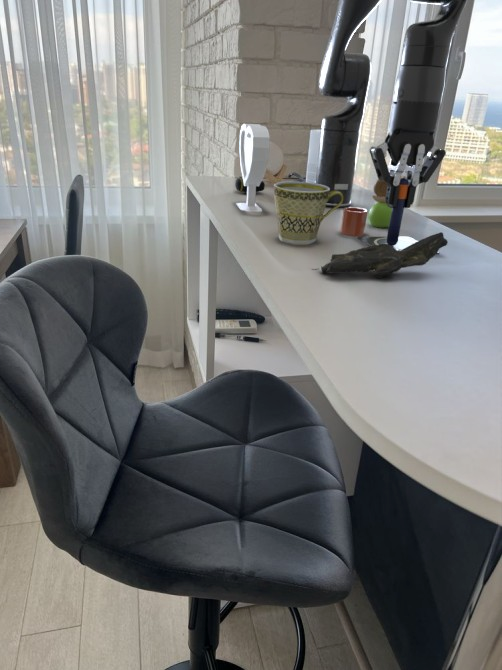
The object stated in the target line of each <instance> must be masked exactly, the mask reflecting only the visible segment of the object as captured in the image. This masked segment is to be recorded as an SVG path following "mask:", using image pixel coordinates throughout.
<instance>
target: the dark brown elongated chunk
mask: <svg viewBox="0 0 502 670" xmlns="http://www.w3.org/2000/svg"><path fill="white" fill-rule="evenodd" d="M444 236H445V235H444V232H442V231H440V232H436V233H433V234H432V235H429V236H426V237H425V238H422V239H419V240H417V241H418V242H416V243H414V244H412V245H410V246H408V247H406V248H404V249H403V250H401V251H397V250H395V249H394V248H393V247H392V246H391V245H389V244H380V245H375V246H365V247H361V248H357V249H353V250H350V251H348V252H347V253H339V254H337V253H335V254H332V255H331V258H330V261H329V262H327V263H325V264H324V265H323V266H320V270H321V272H322V274H329V273H333V274H343V273H355V272H356V273H360V272H361V273H368V272H373V273H372V274H373V275H374V277H377V278H379V279H380V278H383V277H385V276H388V275H391V274H394V273H397V272H398V271H400V270H401V269H403V268H408V267H420V266H421V267H422V266H424V265H427V263H428V262H429V261H430V260H431V259H432V258H434V257H435V256H436V255H437V254H436V253H437V252H439V250H440V249H441V248H444V247H446V246H447V245H448V243H449V242H448V239H446V238H445V237H444Z"/></svg>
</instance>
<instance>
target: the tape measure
mask: <svg viewBox="0 0 502 670" xmlns="http://www.w3.org/2000/svg"><path fill="white" fill-rule="evenodd" d="M234 186H235V189H236V190H237V191H239V192H241V193H243V194H246V195H247V186H244V183H243V177H242V176H238V177H236V179H235V184H234ZM265 186H266V184H265V182H264V181H263V180H262V181H261V183H260V185H259V186H256V193H259V192H263V191H264V190H265Z"/></svg>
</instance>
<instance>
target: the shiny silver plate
mask: <svg viewBox="0 0 502 670" xmlns="http://www.w3.org/2000/svg"><path fill="white" fill-rule="evenodd" d="M356 237H357V239H358V240H359V241H361V242H362V243H364V244H365V245H366V246H367V247H369V246H375V245H380V244H387V236H356ZM418 241H419V240H417V239H415V238H413V237H411V236H408V235H406V236H405V235H403V236H401V235H399V237H398V242H397V244H396V245H394V246H392V247H393V248H394V249H395V250H397V251H401V250H403V249H404V248H406V247H408V246H410V245H412V244H414V243H416V242H418ZM435 255H440V252H439V251H438V252H437V253H436V254H435Z"/></svg>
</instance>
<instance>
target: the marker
mask: <svg viewBox="0 0 502 670" xmlns="http://www.w3.org/2000/svg"><path fill="white" fill-rule="evenodd" d="M398 186H399V187H400V189H399V195H398V200H397V206H396V208H392V212H391V218H390V223H389V226H388V230H387V233H386V235H387V236H386V237H387V244H389V245H391V246H394V245H396V244H397V242H398V237H399V236H400V232H401V226H402V221H403V215H404V211H405V208H404V206H405V200H406V197H407V191H408V186H409V183H408V180H407V179H406V178H401V179H400V183H399V185H398Z"/></svg>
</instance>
